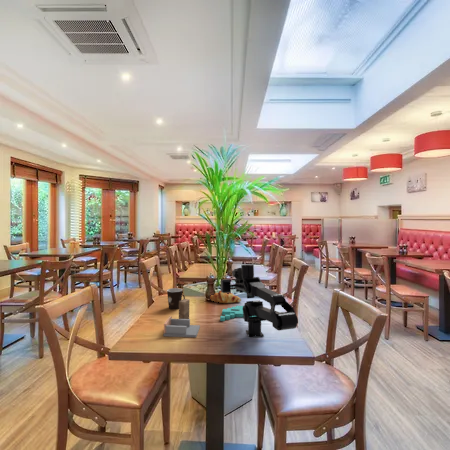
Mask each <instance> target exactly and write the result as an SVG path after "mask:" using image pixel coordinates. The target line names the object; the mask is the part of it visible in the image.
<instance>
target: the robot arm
mask: <svg viewBox="0 0 450 450" xmlns="http://www.w3.org/2000/svg"><path fill="white" fill-rule="evenodd" d="M231 274H232V277H233V278H234V283H235V284H234V283H233V284H231V280H230V279H229V278H228V279H227V278H226V279H221V280H220V290H221V292H222V293H231V291H232V290H235V292H237V293H239V294H240V293H241V294H242V293H244V294H246V299H254V298H255V297H256V298H257V297H258V298H259V299H261V300H263V301H265V302H267V303H269V306H270V308H268V307H265V306H264V303H263V301H261V300H259V299H258V300H248V301H246V302H245V303H244V304H243V305H242V306H243V317H242V318H243V320H244V322H246V323H247V329H246V330H245V333H246V334H247V336H248V337H249V338H258V337H259V338H260V337H264V336H265V335H264V333H263V332H262V322H264V321H267V322H270V323H271V324H272V325H271V326H272V328H274V329H275V330H276V331H279V332H280V331H286V330H294V329H296V328H297V325H298V324H299V317H298V316H297V313H296V311H295V309H294V307H293V306H292V305H291V304H290V303H289V302H288V301H287V300H286V298H285V296H284V294H281V293H277V292H275V291H274V290H272V289H269V288H268V287H266V286H265V283H263V282H262V280H261V278H260V277H259V276H255V267H254V264H241V267H237V268H233V270H232V272H231ZM276 306H281V308H282V309H284V310H285V311H281V312H280V311H277V310H276ZM249 316H255V317H249Z"/></svg>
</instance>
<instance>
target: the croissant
mask: <svg viewBox="0 0 450 450" xmlns="http://www.w3.org/2000/svg"><path fill="white" fill-rule="evenodd" d="M213 294H214V295H211V294H210V295H211V296H210V299H211V300H210V299H209V300H210V301H211V302H213V301H214V302H213V303H218V302H219V303H220V304H230V303H231V304H232V303H233V304H234V303H240V302H241V301H242V299H241V297H239V296H238V295H235V294H234V293H233V292H230V293H229V294H227V293H222V292H221V289H220V290H219V291H218V292H214V293H213ZM219 303H218V304H219Z"/></svg>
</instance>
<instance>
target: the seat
mask: <svg viewBox="0 0 450 450" xmlns="http://www.w3.org/2000/svg"><path fill="white" fill-rule="evenodd" d="M200 328H201V325H199V324H198V325H197V324H194V325H193V324H191V319H190V318H189V319H179V318H172V316H171V315H170V316H169V317H168V318H167V319H166V320H165V322H164V323H163V335H162V336H163V337H171V338H172V337H173V338H174V337H175V338H197V336H198V334H199V331H200Z"/></svg>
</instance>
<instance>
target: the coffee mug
mask: <svg viewBox="0 0 450 450" xmlns="http://www.w3.org/2000/svg"><path fill="white" fill-rule="evenodd" d="M166 292H167V293H166V295H167V303H168V309H169V310H173V311H174V310H175V311H176V310H179V301H181V300H183V299H186V297H185V295H184V294H183V292H184V291H183V288H178V287H174V288H173V287H172V288H168V289H167V290H166ZM182 298H183V299H182Z"/></svg>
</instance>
